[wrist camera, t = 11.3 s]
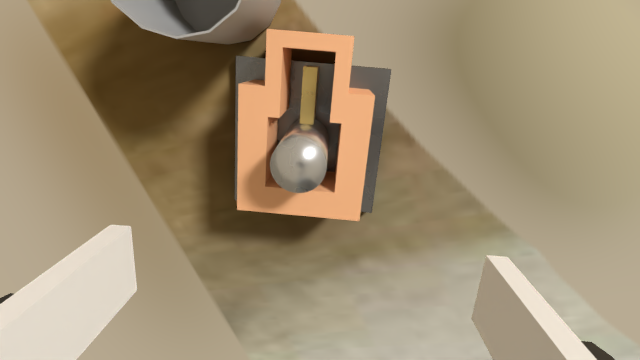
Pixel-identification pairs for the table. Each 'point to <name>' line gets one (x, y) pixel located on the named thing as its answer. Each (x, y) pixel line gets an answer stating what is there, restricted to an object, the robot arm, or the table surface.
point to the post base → (324, 110)
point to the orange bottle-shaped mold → (262, 127)
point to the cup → (202, 18)
